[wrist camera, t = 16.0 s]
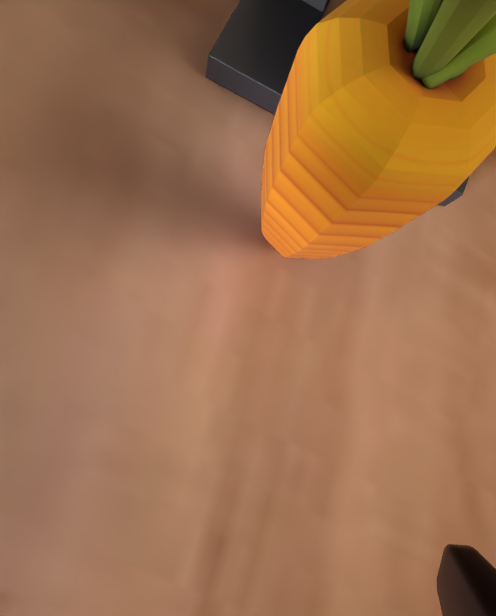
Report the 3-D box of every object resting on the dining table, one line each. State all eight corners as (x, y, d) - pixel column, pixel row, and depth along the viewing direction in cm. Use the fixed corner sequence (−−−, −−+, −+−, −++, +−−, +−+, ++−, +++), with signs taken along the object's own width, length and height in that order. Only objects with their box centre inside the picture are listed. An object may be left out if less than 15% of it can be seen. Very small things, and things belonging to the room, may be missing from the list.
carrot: (253, 314, 18) (578, 43, 4) (209, 210, 19) (356, -379, 4) (351, 275, 20) (882, -44, 5) (308, 178, 20) (680, -366, 6)
